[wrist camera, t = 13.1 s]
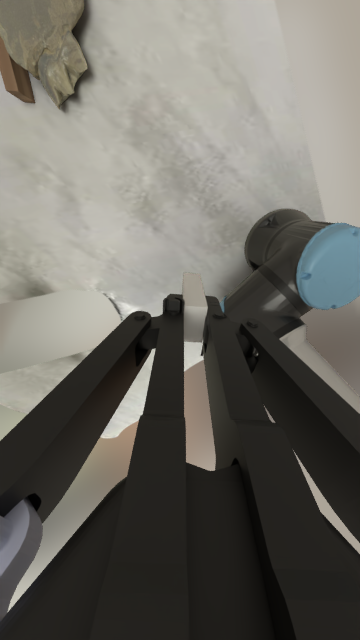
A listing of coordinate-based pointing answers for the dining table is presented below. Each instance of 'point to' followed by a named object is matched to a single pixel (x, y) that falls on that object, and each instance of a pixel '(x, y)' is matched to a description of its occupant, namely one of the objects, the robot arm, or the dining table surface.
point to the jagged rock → (45, 42)
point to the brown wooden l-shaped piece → (15, 76)
